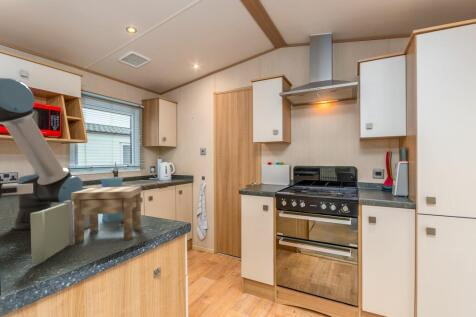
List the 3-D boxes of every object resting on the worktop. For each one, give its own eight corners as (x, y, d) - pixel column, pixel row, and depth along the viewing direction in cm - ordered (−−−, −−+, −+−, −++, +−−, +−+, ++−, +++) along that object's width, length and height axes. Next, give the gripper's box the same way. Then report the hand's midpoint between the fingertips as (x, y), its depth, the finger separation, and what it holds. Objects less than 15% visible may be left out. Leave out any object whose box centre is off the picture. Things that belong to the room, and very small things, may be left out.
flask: (84, 229, 98) (83, 206, 98) (70, 229, 100) (69, 205, 99) (97, 224, 105) (97, 202, 105) (84, 224, 107) (83, 202, 107)
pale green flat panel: (66, 243, 82) (65, 200, 82) (75, 242, 82) (74, 200, 82) (28, 266, 65) (27, 212, 65) (40, 265, 65) (39, 212, 65)
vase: (100, 220, 113) (99, 179, 113) (117, 216, 119) (116, 177, 119) (108, 222, 108) (107, 179, 108) (124, 218, 115) (124, 178, 114)
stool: (72, 243, 83) (71, 193, 83) (92, 230, 97) (91, 187, 97) (131, 240, 85) (130, 191, 85) (142, 228, 99) (141, 186, 99)
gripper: (-85, 208, 60) (35, 197, 75) (-116, 219, 50) (30, 204, 64) (-86, 179, 60) (34, 174, 75) (-117, 184, 50) (29, 177, 64)
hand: (32, 188), depth 69 cm, fingers closed
